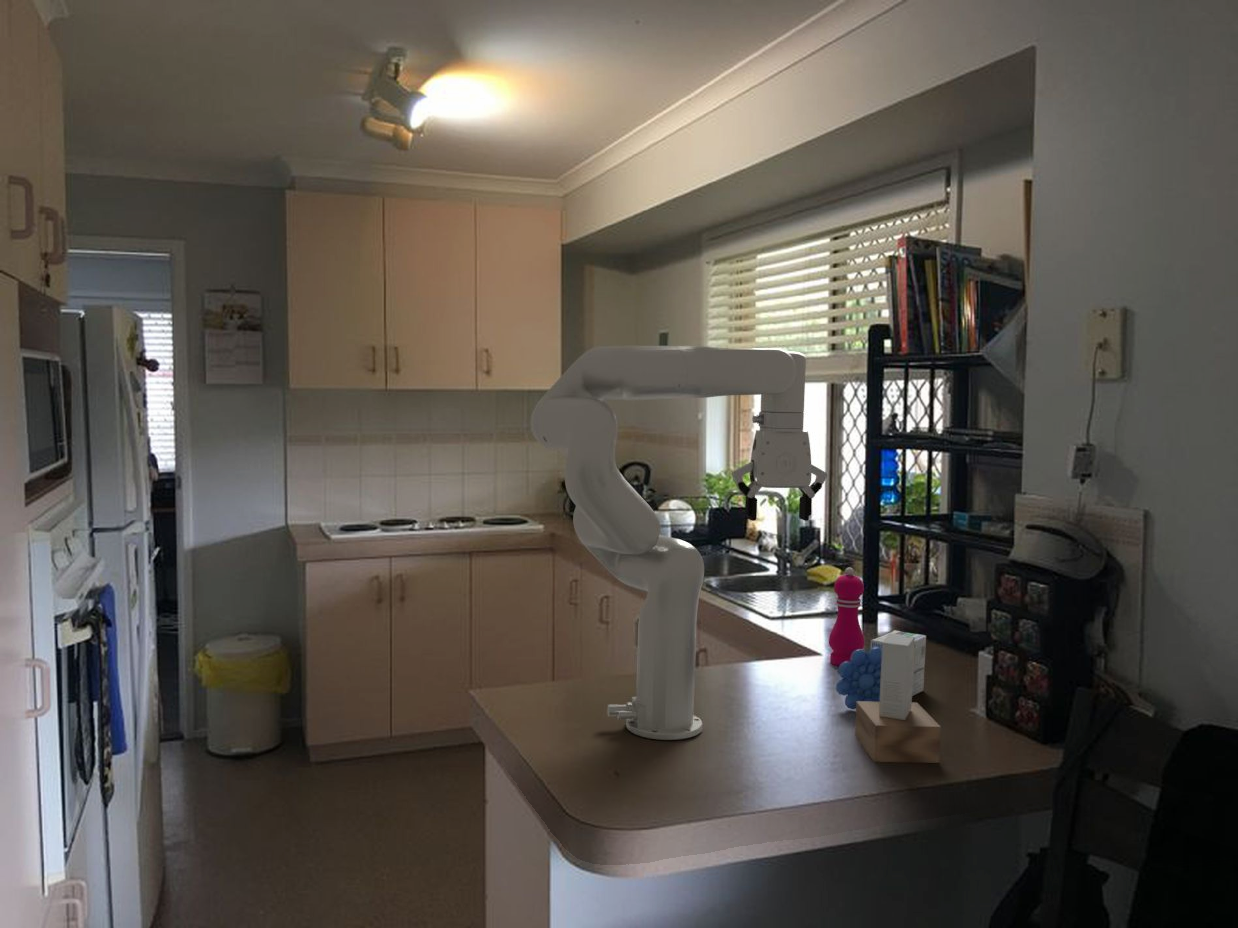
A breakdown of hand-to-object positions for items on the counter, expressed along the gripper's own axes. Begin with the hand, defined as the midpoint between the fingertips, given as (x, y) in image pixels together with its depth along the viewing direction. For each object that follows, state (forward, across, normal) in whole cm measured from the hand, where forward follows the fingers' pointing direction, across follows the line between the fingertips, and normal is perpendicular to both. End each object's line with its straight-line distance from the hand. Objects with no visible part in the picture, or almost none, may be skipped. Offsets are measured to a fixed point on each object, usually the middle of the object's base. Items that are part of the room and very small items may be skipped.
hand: (777, 519), depth 183 cm
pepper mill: (+34, +25, +25) cm, 49 cm away
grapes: (+34, +16, -6) cm, 38 cm away
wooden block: (+34, +12, -24) cm, 43 cm away
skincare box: (+28, +12, -24) cm, 38 cm away
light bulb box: (+34, +26, +4) cm, 43 cm away
